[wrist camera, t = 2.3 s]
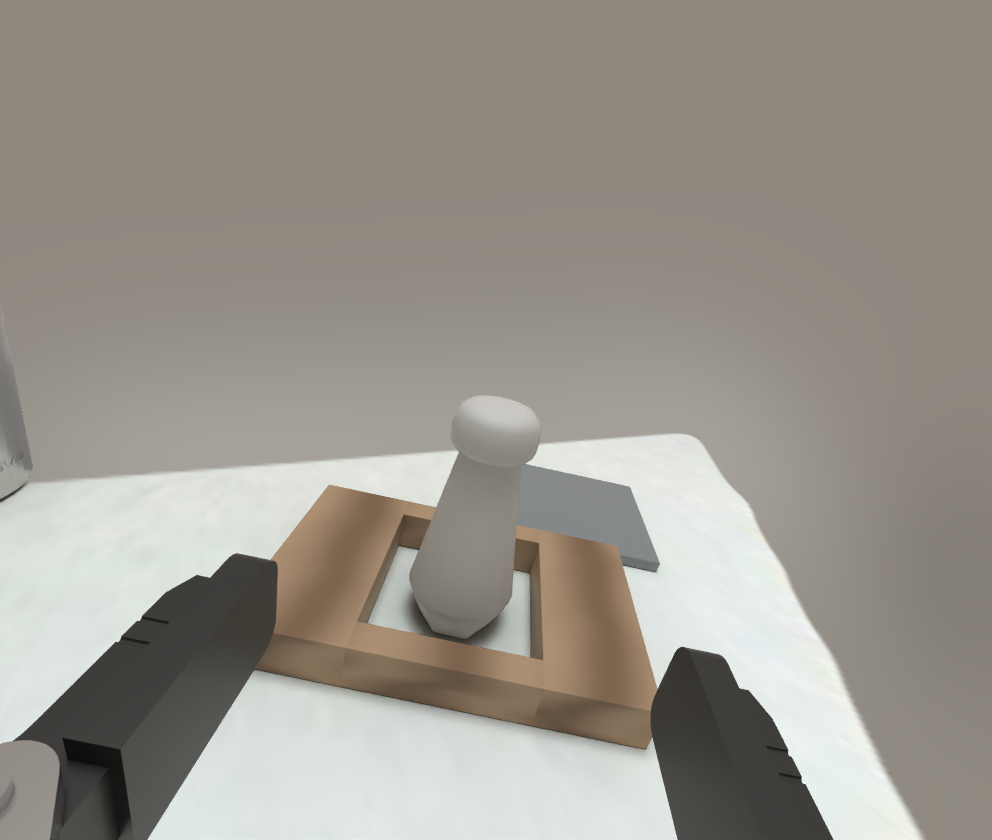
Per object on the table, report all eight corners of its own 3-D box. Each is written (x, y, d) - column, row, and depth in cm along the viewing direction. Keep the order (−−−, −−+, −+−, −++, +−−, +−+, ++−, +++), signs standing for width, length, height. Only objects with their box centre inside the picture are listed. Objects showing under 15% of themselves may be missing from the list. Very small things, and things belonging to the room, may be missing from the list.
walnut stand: (222, 662, 22) (221, 622, 21) (326, 515, 33) (329, 484, 32) (645, 749, 22) (664, 713, 21) (606, 574, 33) (617, 546, 32)
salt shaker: (397, 578, 29) (429, 378, 24) (484, 570, 31) (529, 386, 26) (416, 661, 24) (462, 431, 19) (518, 643, 26) (583, 434, 21)
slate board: (496, 538, 34) (498, 529, 34) (503, 467, 44) (505, 459, 44) (656, 572, 35) (659, 563, 34) (627, 493, 45) (629, 486, 44)
